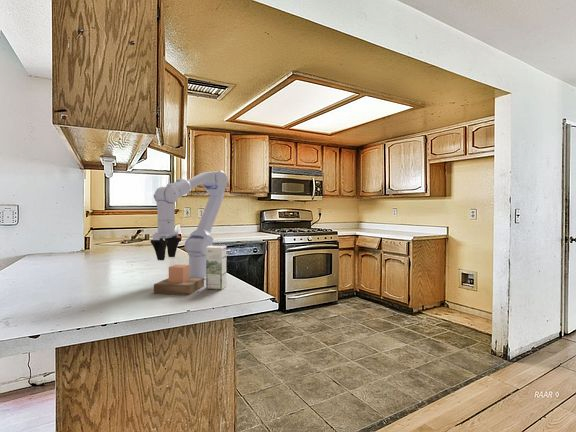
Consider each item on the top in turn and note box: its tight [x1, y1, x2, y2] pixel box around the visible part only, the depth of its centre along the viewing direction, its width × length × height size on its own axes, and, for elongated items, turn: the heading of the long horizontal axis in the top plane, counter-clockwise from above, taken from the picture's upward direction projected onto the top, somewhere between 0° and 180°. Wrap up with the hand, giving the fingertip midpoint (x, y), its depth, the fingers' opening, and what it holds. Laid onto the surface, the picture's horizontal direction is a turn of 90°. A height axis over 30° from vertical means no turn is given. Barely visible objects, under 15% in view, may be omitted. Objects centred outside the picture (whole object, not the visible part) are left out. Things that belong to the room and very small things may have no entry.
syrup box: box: [205, 244, 227, 290], centre depth 115 cm, size 6×6×14 cm
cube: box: [168, 264, 190, 283], centre depth 112 cm, size 5×5×5 cm
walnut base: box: [153, 277, 205, 296], centre depth 112 cm, size 12×12×3 cm
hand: (166, 258), depth 119 cm, fingers open, 7 cm apart
